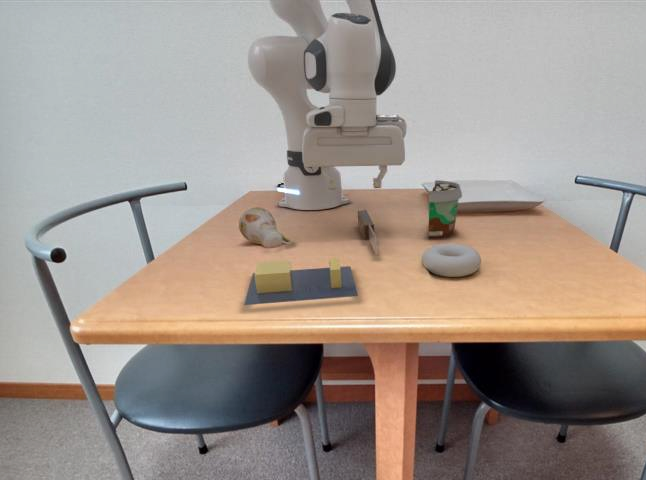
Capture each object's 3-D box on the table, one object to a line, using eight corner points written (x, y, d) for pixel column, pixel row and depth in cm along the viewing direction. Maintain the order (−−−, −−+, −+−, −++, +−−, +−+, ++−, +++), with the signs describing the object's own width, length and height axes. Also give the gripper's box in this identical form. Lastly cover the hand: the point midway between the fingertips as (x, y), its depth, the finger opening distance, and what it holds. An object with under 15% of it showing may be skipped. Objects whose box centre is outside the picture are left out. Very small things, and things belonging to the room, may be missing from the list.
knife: (358, 227, 97) (357, 210, 95) (366, 227, 97) (366, 209, 95) (371, 260, 78) (370, 239, 76) (382, 259, 78) (381, 238, 77)
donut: (411, 273, 73) (466, 284, 68) (411, 254, 71) (468, 263, 66) (436, 256, 80) (488, 264, 75) (437, 238, 79) (490, 245, 74)
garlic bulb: (262, 258, 80) (236, 209, 79) (255, 264, 89) (231, 220, 88) (298, 241, 83) (272, 193, 82) (287, 249, 92) (264, 206, 91)
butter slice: (330, 275, 69) (329, 258, 68) (339, 275, 69) (338, 257, 68) (331, 288, 65) (330, 269, 63) (341, 287, 65) (340, 269, 64)
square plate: (510, 191, 130) (512, 178, 128) (544, 215, 105) (547, 199, 103) (420, 193, 129) (421, 179, 127) (433, 217, 104) (434, 201, 102)
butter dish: (253, 278, 71) (250, 255, 69) (350, 271, 73) (349, 249, 72) (244, 311, 60) (240, 285, 59) (358, 302, 63) (357, 276, 61)
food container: (457, 243, 87) (461, 192, 82) (427, 241, 88) (429, 191, 83) (460, 225, 97) (463, 180, 93) (433, 224, 99) (435, 179, 94)
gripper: (403, 113, 86) (401, 183, 93) (299, 113, 83) (304, 185, 89) (410, 116, 81) (407, 190, 87) (299, 116, 77) (304, 193, 84)
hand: (354, 188), depth 88 cm, fingers open, 8 cm apart
